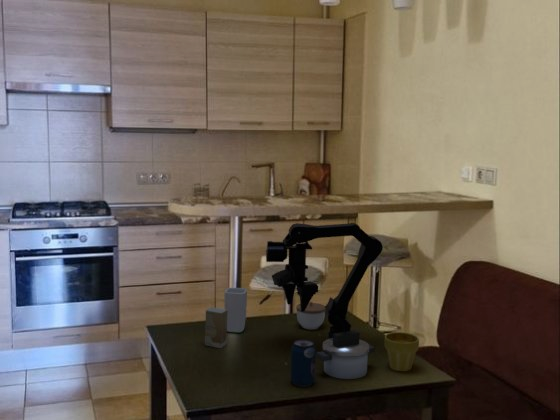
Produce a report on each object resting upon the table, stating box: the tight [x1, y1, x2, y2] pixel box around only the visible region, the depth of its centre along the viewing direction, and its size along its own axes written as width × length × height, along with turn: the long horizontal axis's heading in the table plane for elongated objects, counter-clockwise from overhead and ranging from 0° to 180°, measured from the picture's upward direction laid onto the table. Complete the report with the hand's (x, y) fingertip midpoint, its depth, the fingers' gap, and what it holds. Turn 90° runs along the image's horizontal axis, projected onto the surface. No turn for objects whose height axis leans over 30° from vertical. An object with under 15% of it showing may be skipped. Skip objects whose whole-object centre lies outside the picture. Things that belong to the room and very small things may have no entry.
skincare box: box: [204, 307, 228, 349], centre depth 216 cm, size 6×4×12 cm
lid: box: [322, 329, 370, 357], centre depth 196 cm, size 14×14×5 cm
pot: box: [315, 344, 376, 380], centre depth 196 cm, size 19×13×7 cm
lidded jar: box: [296, 301, 326, 331], centre depth 238 cm, size 11×11×9 cm
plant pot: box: [384, 331, 420, 372], centre depth 200 cm, size 10×10×10 cm
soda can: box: [290, 338, 316, 387], centre depth 186 cm, size 7×7×12 cm
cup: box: [223, 287, 248, 334], centre depth 231 cm, size 7×7×15 cm
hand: (295, 307), depth 216 cm, fingers open, 9 cm apart
